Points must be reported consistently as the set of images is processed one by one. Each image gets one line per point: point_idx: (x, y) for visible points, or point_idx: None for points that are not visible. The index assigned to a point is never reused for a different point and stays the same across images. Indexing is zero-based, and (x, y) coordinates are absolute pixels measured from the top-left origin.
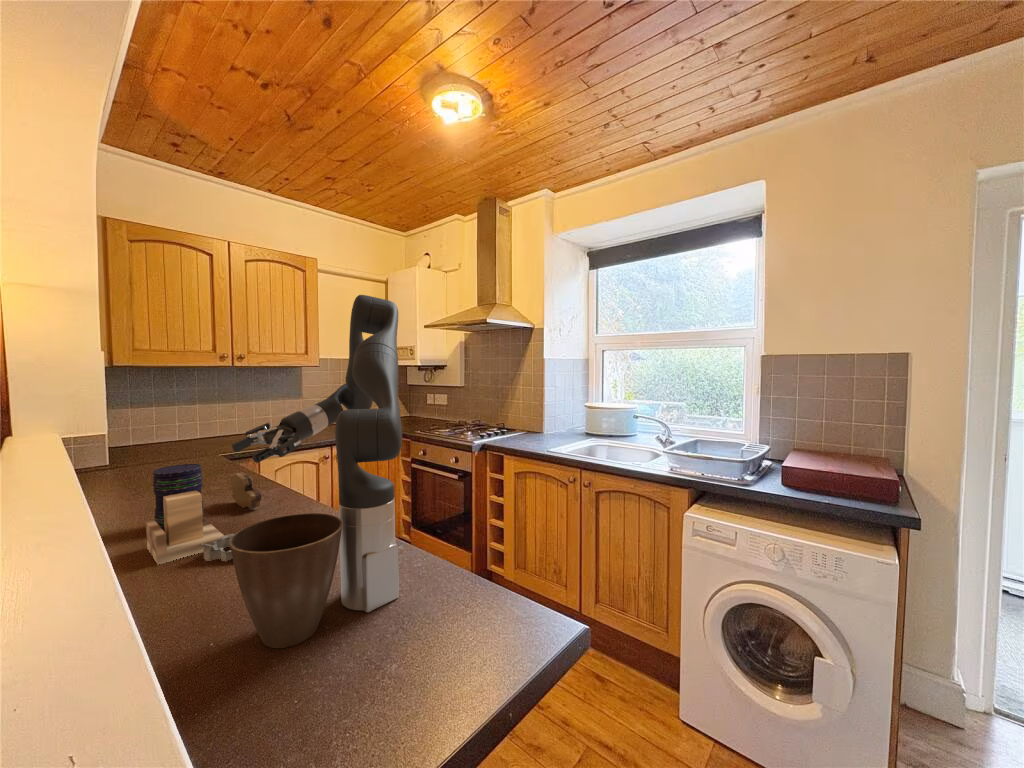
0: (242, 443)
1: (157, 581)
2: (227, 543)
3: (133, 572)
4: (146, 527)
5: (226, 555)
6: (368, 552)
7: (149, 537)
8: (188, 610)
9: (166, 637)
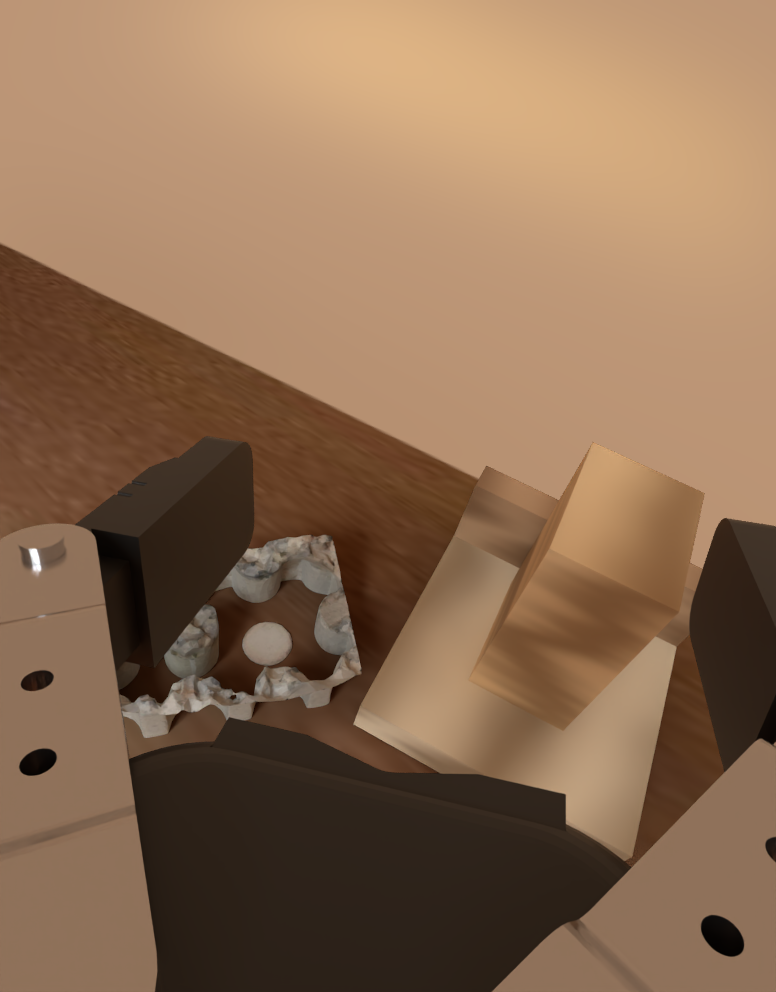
0: (740, 620)
1: (334, 458)
2: (328, 696)
3: None
4: None
5: None
6: None
7: None
8: (87, 357)
9: (54, 289)
